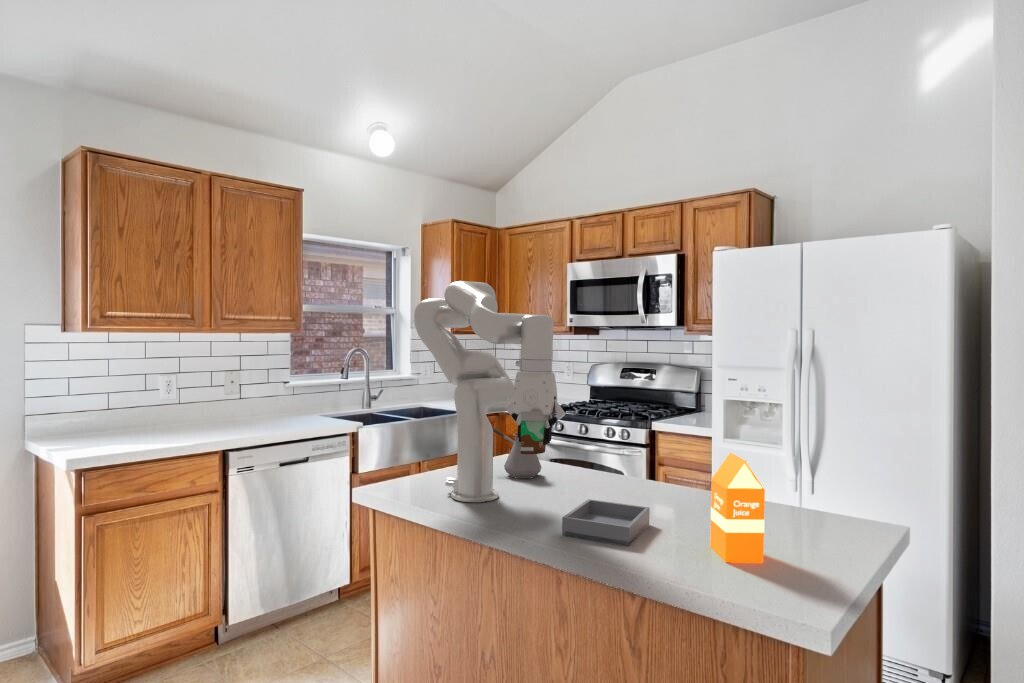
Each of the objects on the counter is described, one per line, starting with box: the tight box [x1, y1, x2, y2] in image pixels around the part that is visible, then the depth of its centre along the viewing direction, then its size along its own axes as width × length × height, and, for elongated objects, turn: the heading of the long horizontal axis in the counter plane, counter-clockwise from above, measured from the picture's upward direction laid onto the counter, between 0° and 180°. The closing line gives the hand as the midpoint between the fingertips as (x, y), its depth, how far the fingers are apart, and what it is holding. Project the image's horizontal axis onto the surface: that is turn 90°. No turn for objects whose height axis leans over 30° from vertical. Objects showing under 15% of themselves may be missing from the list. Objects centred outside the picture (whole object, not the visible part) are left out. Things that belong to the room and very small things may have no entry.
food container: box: [521, 411, 552, 455], centre depth 151 cm, size 12×6×10 cm, turn 168°
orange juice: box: [709, 452, 766, 564], centre depth 128 cm, size 8×9×20 cm
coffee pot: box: [492, 426, 542, 479], centre depth 198 cm, size 21×12×15 cm, turn 55°
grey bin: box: [561, 498, 651, 547], centre depth 143 cm, size 15×17×4 cm
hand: (534, 441), depth 151 cm, fingers closed on food container, 5 cm apart
